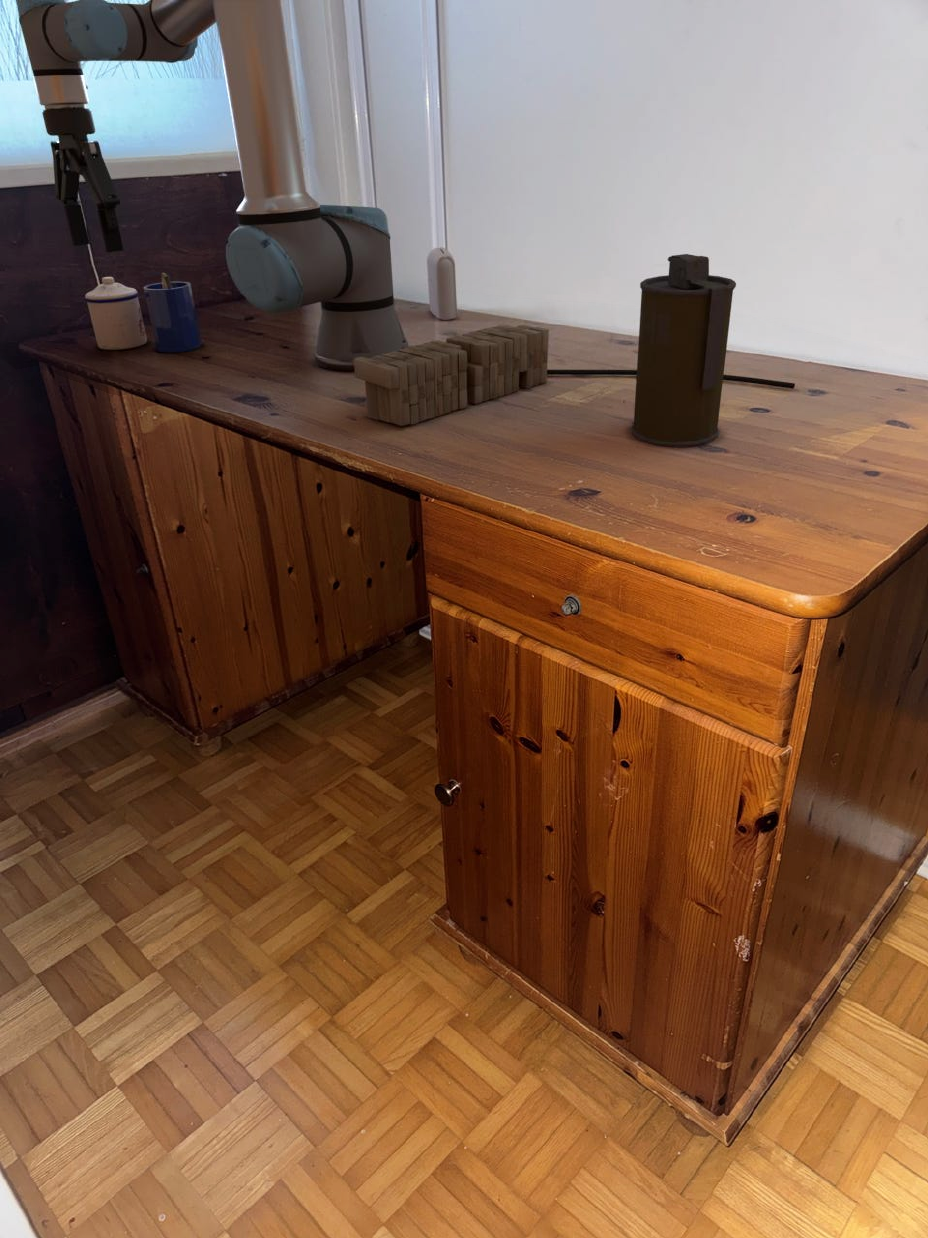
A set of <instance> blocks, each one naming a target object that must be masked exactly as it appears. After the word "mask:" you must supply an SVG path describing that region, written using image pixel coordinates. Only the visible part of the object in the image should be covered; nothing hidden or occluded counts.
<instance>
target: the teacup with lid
mask: <svg viewBox="0 0 928 1238" xmlns="http://www.w3.org/2000/svg"><path fill="white" fill-rule="evenodd" d="M101 282H102V283H101V284H98V285H97V286H96V287H95V288H93V290H91V291H89V292H87V293H85V295H84V301H85V302H87V307H88V308H87V309H88V311H89V312H88V313H89V315H90V319H91V325H92V328H93V332H94V336H95V340H96V345H97V347H98V348H99V349H101V350H104V351H122V350H129V349H134V348H139V347H141V346H144V345H145V344H147V342H148V338H147V333H146V328H145V324H144V320H143V315H142V310H141V305H140V302H139V296H140V294H139V292H138V290H136V288H133V287H128V286H126V285H124V284H122V283H119V282H115V278H114V277H113V276H105V277H102V278H101Z"/></svg>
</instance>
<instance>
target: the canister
mask: <svg viewBox="0 0 928 1238" xmlns="http://www.w3.org/2000/svg"><path fill="white" fill-rule="evenodd" d="M667 261H668V263H669V265H668V274H667V275H659V276H653V277H648V278H645V279H644V280H642V281H640V284H639V288H640V290H641V292H640V293H641V295H640V296H641V297H640V312H639V313H640V314H639V329H638V347H637V362H636V370H637V375H636V379H635V394H634V413H633V414H634V415H633V425H631V426H632V427H631V429H630V432H631V434H632V436H633V437H634V438H636V439H637V440H639V441H642V442H644V443H646V444H647V443H648V444H651V445H654V446H659V447H669V448H679V447H680V448H684V447H696V446H702V445H705V444H709V443H711V442H713V441H715V440H716V439H717V438H718V437H719V435H720V430H719V428H718V427H719V418H720V409H721V400H722V391H723V382H724V380H723V375H725V374H724V373H725V366H726V356H727V347H728V338H729V329H730V321H731V320H730V319H731V312H732V311H731V310H732V303H733V294H734V290H735V289H736V288H737V283H736V281H735V280H733V279H732V278H728V277H724V276H720V275H710V258H709V257H708V256H705V255H695V254H689V253H682V254H674V255H671V256H670V255H669V256H668V258H667Z"/></svg>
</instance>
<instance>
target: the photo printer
mask: <svg viewBox="0 0 928 1238" xmlns="http://www.w3.org/2000/svg"><path fill="white" fill-rule="evenodd" d="M426 267H427V285H428V299H429V310H430V313H431V314H432V315H433V316H434V317H436V318H437V319H439V320H441V321H449V320H455V319H456V318H457V317H458V299H457V279H456V277H457V276H456V262H455V259H454V257H453V254H452V253H451V252H450V251H449V250H448V249H447V248H445V247H443V246H441V247H434V248H433V249H431V250H430V251H429V253H428V255H427V257H426Z"/></svg>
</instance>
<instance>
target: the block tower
mask: <svg viewBox="0 0 928 1238" xmlns="http://www.w3.org/2000/svg"><path fill="white" fill-rule="evenodd" d="M549 332H550V330H549V328H545V327H539V326H532V325H527V324H526V325H525V324H520V325H517V326H514V325H511V324H505V323H501V324H498V325H495V326H491V327H485V328H481V329H477V330H474V331H470V332H468V333H463V334H458V335H454V336H451V337H446V339H445V341H441V340H438V339H437V340H431V341H429V342H424V343H422V344H416V345H410V346H409V345H408V347H406V348H404V349H399V350H398V351H394V352H390V353H386V354H381V356H380V355H378V356H373V357H372V358H364V357H357V358H355V359H354V366H355V371H354V377H355V378H356V379H359V380H362V381H364V386H365V387H364V389H365V399H366V400H365V401H366V413H367V415H366V416H367V418H369V419H372V420H376V421H383V422H385V423H390V424H394V425H397V426H400V427H401V426H403V427H404V426H407V425H412V426H413V425H416V424H419V423H421V422H424V421H427V420H431V419H434V418H436V417H441V416H443V415H447V414H450V413H451V412H454V411H457V410H462V409H466V408H467V407H468V403H470V404H473V405H477V404H480V403H483V402H486V401H489V400H493V399H496V398H501V397H504V396H507V395H510V394H512V393H514V392H518V391H520V390H519V389H520V388H521V389H530V388H532V387H533V386H538V385H543V384H546V383H547V382H548V375H547V370H548V361H549V360H548V358H549V338H550V337H549V336H550V333H549Z"/></svg>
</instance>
